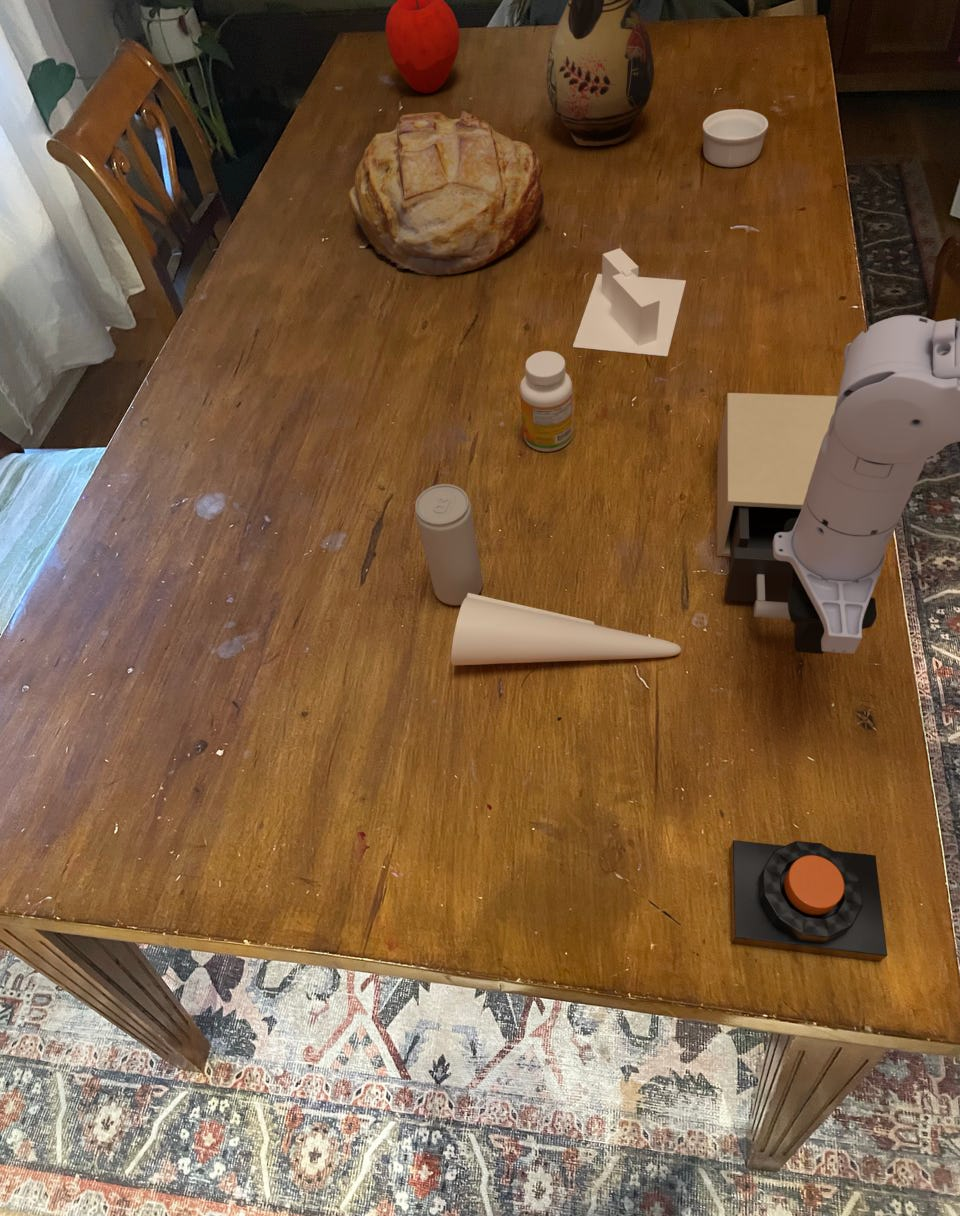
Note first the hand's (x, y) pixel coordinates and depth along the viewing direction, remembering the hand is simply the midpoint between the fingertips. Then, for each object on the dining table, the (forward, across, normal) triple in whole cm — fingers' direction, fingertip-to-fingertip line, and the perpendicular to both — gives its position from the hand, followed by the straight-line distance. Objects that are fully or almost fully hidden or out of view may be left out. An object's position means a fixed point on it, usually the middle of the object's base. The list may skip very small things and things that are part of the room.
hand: (807, 624), depth 64 cm
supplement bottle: (+10, -29, -23) cm, 39 cm away
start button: (+6, +18, +1) cm, 19 cm away
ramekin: (+10, -88, -4) cm, 89 cm away
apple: (+10, -112, -53) cm, 125 cm away
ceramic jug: (+10, -95, -24) cm, 98 cm away
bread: (+10, -70, -42) cm, 83 cm away
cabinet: (+9, -21, 0) cm, 23 cm away
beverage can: (+10, -8, -30) cm, 32 cm away
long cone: (+10, -1, -18) cm, 21 cm away
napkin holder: (+10, -51, -16) cm, 54 cm away
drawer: (+9, -13, 0) cm, 15 cm away
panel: (+9, +18, +1) cm, 20 cm away
